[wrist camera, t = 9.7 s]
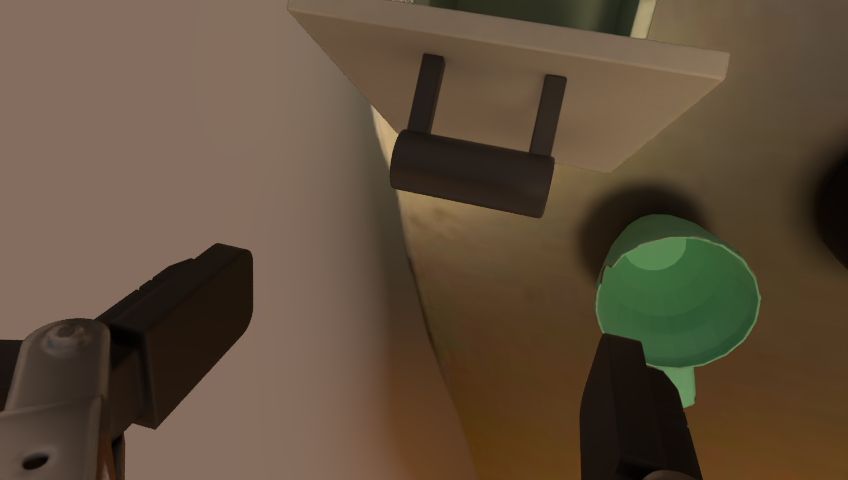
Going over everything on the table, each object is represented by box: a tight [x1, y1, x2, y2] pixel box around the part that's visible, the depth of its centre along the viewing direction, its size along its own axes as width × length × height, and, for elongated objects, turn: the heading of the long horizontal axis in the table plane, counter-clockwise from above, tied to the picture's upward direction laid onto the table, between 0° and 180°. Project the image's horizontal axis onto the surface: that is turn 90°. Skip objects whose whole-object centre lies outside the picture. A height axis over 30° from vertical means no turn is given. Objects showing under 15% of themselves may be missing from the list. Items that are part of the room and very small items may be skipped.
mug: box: [595, 214, 761, 408], centre depth 42 cm, size 15×10×10 cm
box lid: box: [287, 0, 730, 218], centre depth 25 cm, size 18×13×5 cm
